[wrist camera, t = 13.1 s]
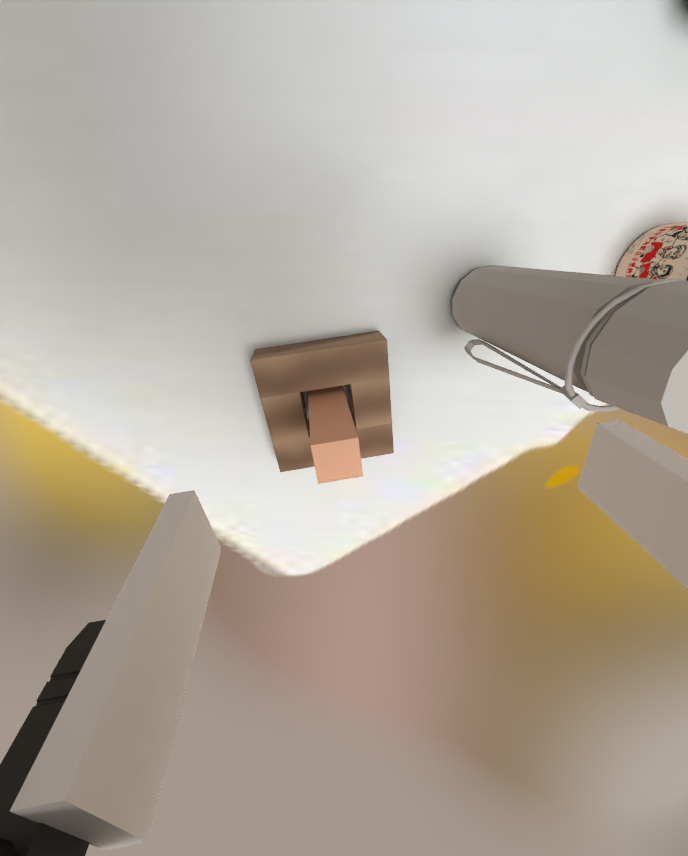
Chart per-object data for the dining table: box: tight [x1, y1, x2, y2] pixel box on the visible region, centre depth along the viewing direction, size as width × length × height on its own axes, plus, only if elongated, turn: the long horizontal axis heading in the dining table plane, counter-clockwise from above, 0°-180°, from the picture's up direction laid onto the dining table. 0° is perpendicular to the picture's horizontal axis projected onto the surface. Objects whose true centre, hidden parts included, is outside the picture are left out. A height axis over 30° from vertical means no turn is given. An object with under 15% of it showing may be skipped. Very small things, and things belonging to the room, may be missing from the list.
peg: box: [308, 386, 363, 484], centre depth 35 cm, size 4×4×14 cm
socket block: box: [250, 331, 394, 472], centre depth 39 cm, size 14×14×4 cm
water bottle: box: [452, 265, 688, 434], centre depth 27 cm, size 9×8×25 cm
